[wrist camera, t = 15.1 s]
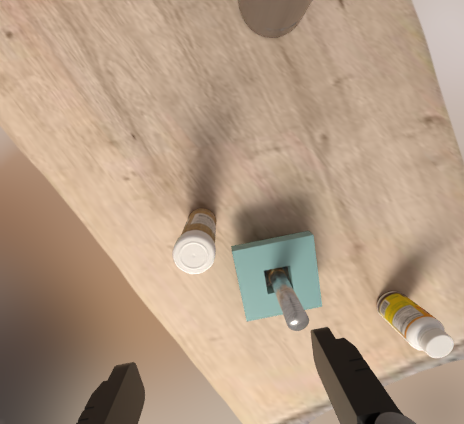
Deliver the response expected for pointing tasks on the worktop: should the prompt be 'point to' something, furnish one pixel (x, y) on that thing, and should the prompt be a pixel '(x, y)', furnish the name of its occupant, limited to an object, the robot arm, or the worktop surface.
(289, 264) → the collar
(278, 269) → the grey peg
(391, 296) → the supplement bottle
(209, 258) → the sprinkles bottle
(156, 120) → the worktop surface
